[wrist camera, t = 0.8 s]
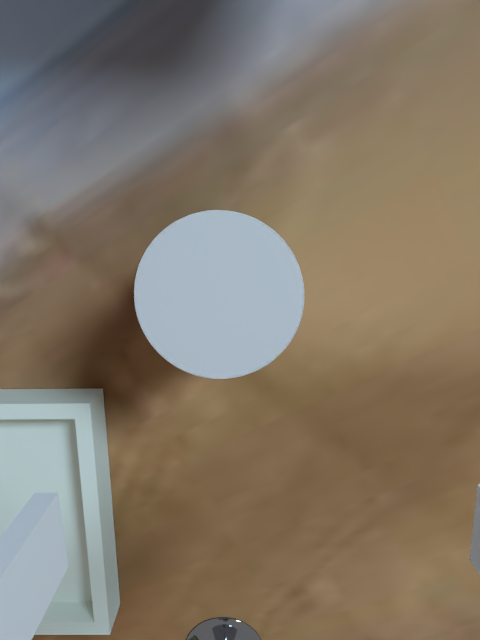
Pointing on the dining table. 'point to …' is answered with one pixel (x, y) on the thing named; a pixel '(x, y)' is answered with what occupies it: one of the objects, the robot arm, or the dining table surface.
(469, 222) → the dining table surface
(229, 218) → the white round cylinder
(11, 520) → the tray
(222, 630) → the wine glass
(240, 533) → the dining table surface
